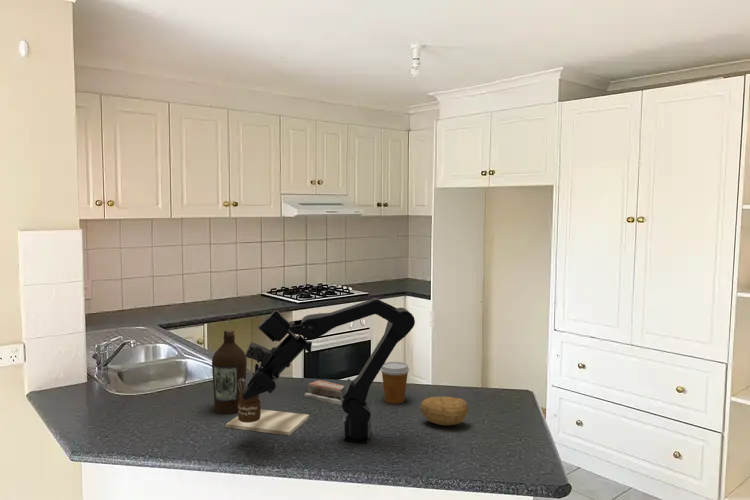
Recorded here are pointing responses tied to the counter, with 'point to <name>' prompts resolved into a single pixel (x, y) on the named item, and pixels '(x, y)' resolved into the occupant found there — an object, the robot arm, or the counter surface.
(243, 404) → the utensil holder
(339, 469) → the counter surface
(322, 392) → the packaged product
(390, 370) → the disposable coffee cup
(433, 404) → the potato
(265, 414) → the birch board
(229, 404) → the olive oil
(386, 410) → the counter surface
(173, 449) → the counter surface
